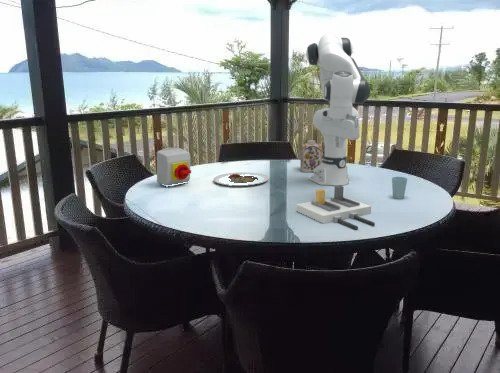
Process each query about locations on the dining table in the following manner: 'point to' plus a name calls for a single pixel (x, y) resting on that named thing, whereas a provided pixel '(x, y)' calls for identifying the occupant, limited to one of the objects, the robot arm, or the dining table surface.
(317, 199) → the amber toggle
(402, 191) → the cup
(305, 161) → the decorative jar
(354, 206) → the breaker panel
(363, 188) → the dining table surface
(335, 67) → the robot arm
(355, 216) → the power cords
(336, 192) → the charcoal toggle
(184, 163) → the electrical switch box
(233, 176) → the plated food
